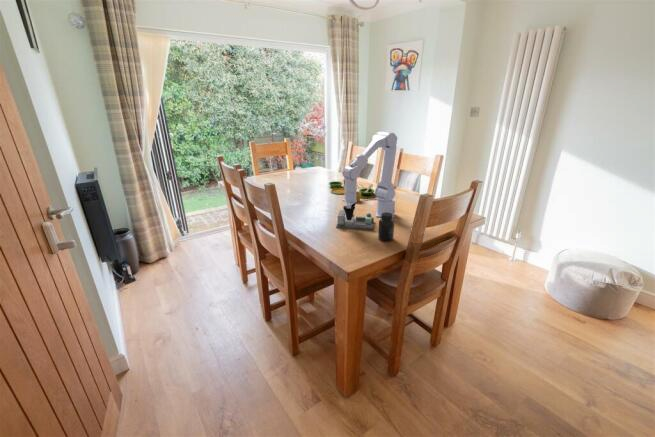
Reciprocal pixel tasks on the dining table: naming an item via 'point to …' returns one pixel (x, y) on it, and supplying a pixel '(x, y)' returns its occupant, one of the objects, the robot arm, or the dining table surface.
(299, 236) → the dining table surface
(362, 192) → the tableware set
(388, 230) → the supplement bottle
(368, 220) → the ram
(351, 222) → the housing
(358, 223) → the press
